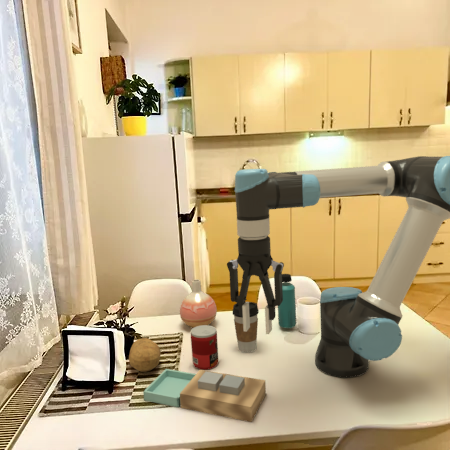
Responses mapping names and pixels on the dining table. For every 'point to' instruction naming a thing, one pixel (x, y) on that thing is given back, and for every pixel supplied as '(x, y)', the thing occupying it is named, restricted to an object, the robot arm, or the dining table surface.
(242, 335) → the coffee cup
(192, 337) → the canned food
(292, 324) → the beverage bottle
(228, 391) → the tile
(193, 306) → the vase
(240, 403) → the oak board
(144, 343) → the potato
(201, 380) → the tile
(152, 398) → the tray
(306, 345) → the dining table surface
